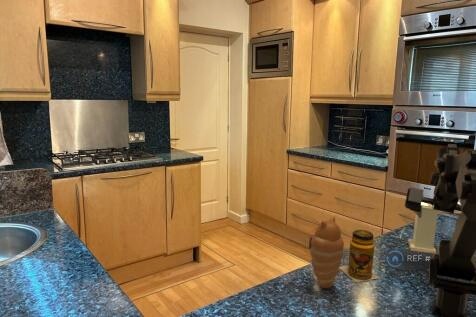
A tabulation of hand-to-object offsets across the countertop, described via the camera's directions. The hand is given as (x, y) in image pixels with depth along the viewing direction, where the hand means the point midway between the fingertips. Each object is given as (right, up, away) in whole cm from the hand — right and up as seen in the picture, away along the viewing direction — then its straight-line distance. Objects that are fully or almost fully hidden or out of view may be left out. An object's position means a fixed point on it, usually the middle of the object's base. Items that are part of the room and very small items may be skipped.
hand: (437, 220), depth 103 cm
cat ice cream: (-36, -15, -14) cm, 41 cm away
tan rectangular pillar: (+1, -9, +10) cm, 14 cm away
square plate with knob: (+1, -10, +10) cm, 15 cm away
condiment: (-25, -13, -6) cm, 29 cm away
